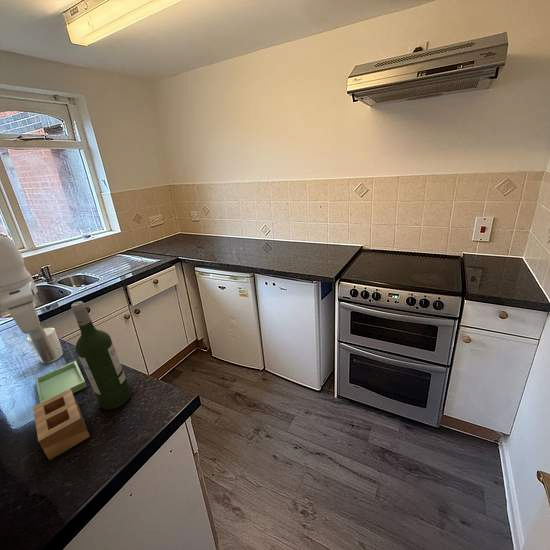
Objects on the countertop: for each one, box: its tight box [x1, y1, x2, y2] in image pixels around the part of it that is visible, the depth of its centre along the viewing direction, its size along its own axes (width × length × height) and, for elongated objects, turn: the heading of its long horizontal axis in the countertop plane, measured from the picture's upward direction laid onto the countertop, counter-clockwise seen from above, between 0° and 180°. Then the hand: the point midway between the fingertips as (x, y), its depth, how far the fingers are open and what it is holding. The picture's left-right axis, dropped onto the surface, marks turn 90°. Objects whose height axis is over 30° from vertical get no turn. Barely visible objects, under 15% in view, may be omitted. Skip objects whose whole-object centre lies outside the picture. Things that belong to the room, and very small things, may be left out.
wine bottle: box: [70, 300, 132, 410], centre depth 77 cm, size 8×8×30 cm
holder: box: [32, 389, 91, 461], centre depth 74 cm, size 15×8×6 cm, turn 42°
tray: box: [34, 360, 88, 404], centre depth 91 cm, size 15×11×2 cm
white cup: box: [27, 327, 64, 364], centre depth 105 cm, size 8×8×10 cm
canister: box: [27, 322, 57, 364], centre depth 86 cm, size 3×3×12 cm
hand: (37, 334), depth 85 cm, fingers closed on canister, 3 cm apart
